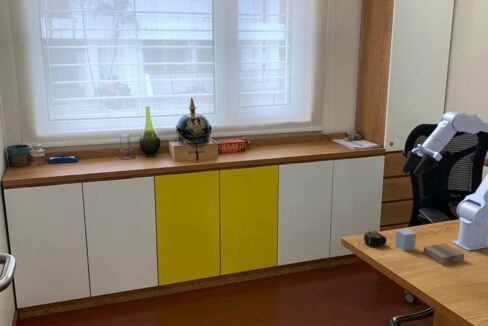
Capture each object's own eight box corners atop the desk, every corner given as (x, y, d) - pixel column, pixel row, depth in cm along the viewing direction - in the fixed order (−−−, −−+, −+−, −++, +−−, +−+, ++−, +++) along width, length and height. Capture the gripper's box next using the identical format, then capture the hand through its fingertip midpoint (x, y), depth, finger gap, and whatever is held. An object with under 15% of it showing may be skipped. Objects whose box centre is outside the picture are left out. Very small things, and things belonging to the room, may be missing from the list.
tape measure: (387, 246, 174) (387, 236, 174) (370, 248, 172) (371, 238, 171) (376, 239, 181) (377, 229, 180) (359, 241, 179) (360, 231, 178)
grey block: (405, 244, 176) (407, 228, 175) (414, 249, 172) (416, 233, 171) (395, 246, 175) (396, 230, 173) (403, 251, 170) (405, 235, 169)
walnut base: (443, 251, 171) (444, 243, 171) (463, 262, 163) (464, 253, 163) (422, 255, 168) (423, 246, 168) (441, 266, 160) (442, 257, 159)
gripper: (416, 132, 166) (390, 162, 166) (441, 135, 152) (413, 168, 152) (429, 146, 168) (404, 176, 168) (455, 150, 154) (428, 183, 153)
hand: (409, 173), depth 160 cm, fingers open, 7 cm apart
